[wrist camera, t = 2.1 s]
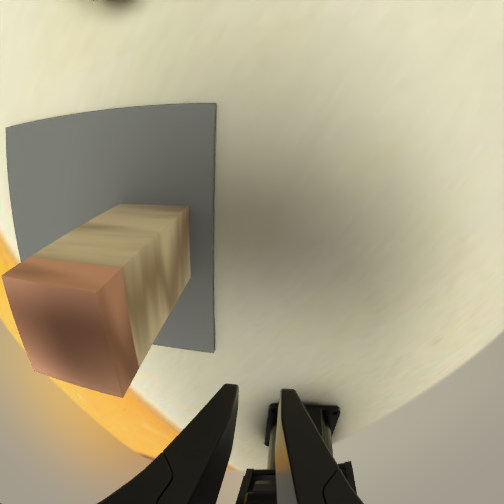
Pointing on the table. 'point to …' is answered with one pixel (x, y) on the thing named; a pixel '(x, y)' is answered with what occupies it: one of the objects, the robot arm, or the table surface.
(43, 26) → the table surface
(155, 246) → the pine block
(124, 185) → the rubber mat
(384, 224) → the table surface
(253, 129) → the table surface
